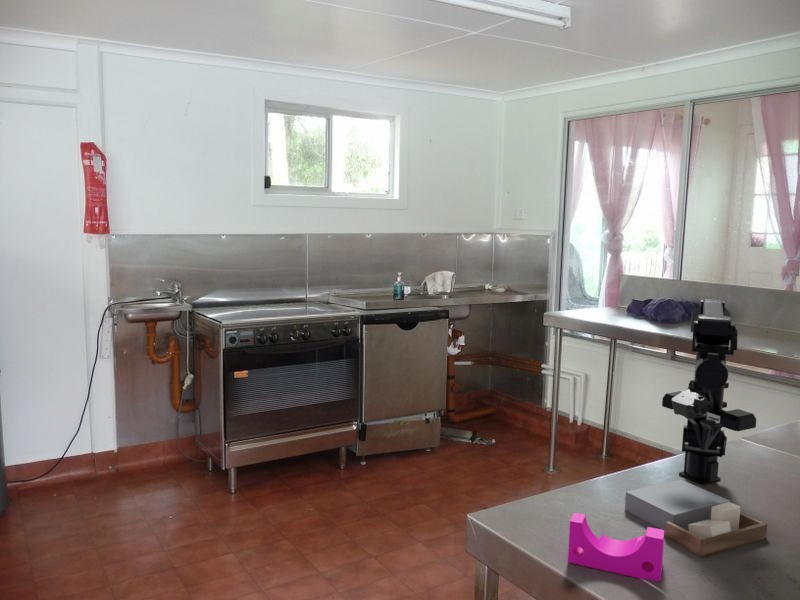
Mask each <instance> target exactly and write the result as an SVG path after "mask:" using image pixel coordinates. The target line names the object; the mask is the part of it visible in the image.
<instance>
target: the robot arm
mask: <svg viewBox="0 0 800 600" xmlns="http://www.w3.org/2000/svg"><path fill="white" fill-rule="evenodd" d="M725 302H726V301H724V300H722V299H712V298H711V299H710V298H709V299H708V298H705V299H701V300H700V305H698V306H697V307H695V308H693V310H692V311H691V319H690V333H692V338H691V339H692V342H691V343H692V344H691V352H693V353H696V354H695V366H694V367H695V368H694V379H691V380H689V382H688V387H687V389H686V390H682V391H679V390H678V391H674V392H666V393H665V394H664V395H663V397H662V398H661V399H662V401H661V406H662V407H663V408H665V409H666V408H667V409H669V410H673V413H674V415H677V416H678V415H679V416H683V417H684V418H685V419H687V420H686V421H687V423H686V425H683V429H682V441H681V443H682V444H681V452H682V453H684V467H683V471H679V472H678V475H679V476H681V477H684V478H686V479H689V480H691V481H692V482H696V483H698V484H701V485H704V484H709V483H714V482H717V481H721V477H720V476H718V475H719V474H718V473H719V462H718V457H719V458H722V457H723V456H725V455H726V449H727V443H728V442H727V441H728V440H727V439H728V438H727V437H728V436H726V434H725V431H724V430H722V429H723V428H725V429H728V430H730V431H734V432H741V431H746V430H750V429H755V428H756V427H757V418H756V415H755V414H754V413H752V412H749V411H745V410H742V409H739V408H736V409H733V410H731V409H730V410H724V409H725V408H728V402H726V401H724V395H725V393H724V392H725V389H729V385H730V384H729V382H728V379H729V371H728V365H727V359H728V358H727V357H728V356H734V353H735V352H734V351H737V350H738V329H737V328H736V325H735V323H732V317H731V316H732V315H731V314H732V313H731V312H730V311H729V309H727V308H726V307H725V305H726V303H725ZM729 347H730V348H729ZM727 355H728V356H727Z"/></svg>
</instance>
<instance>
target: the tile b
mask: <svg viewBox="0 0 800 600" xmlns="http://www.w3.org/2000/svg"><path fill="white" fill-rule="evenodd" d="M740 512H741V506H739V505H738V504H735V503H733V502H731V503H730V502H727V503H723V504H720V505H716V506H712V510H711V520H717V521H729V524H730V529H731V531H735V530H738V529H739V519H740Z"/></svg>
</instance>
